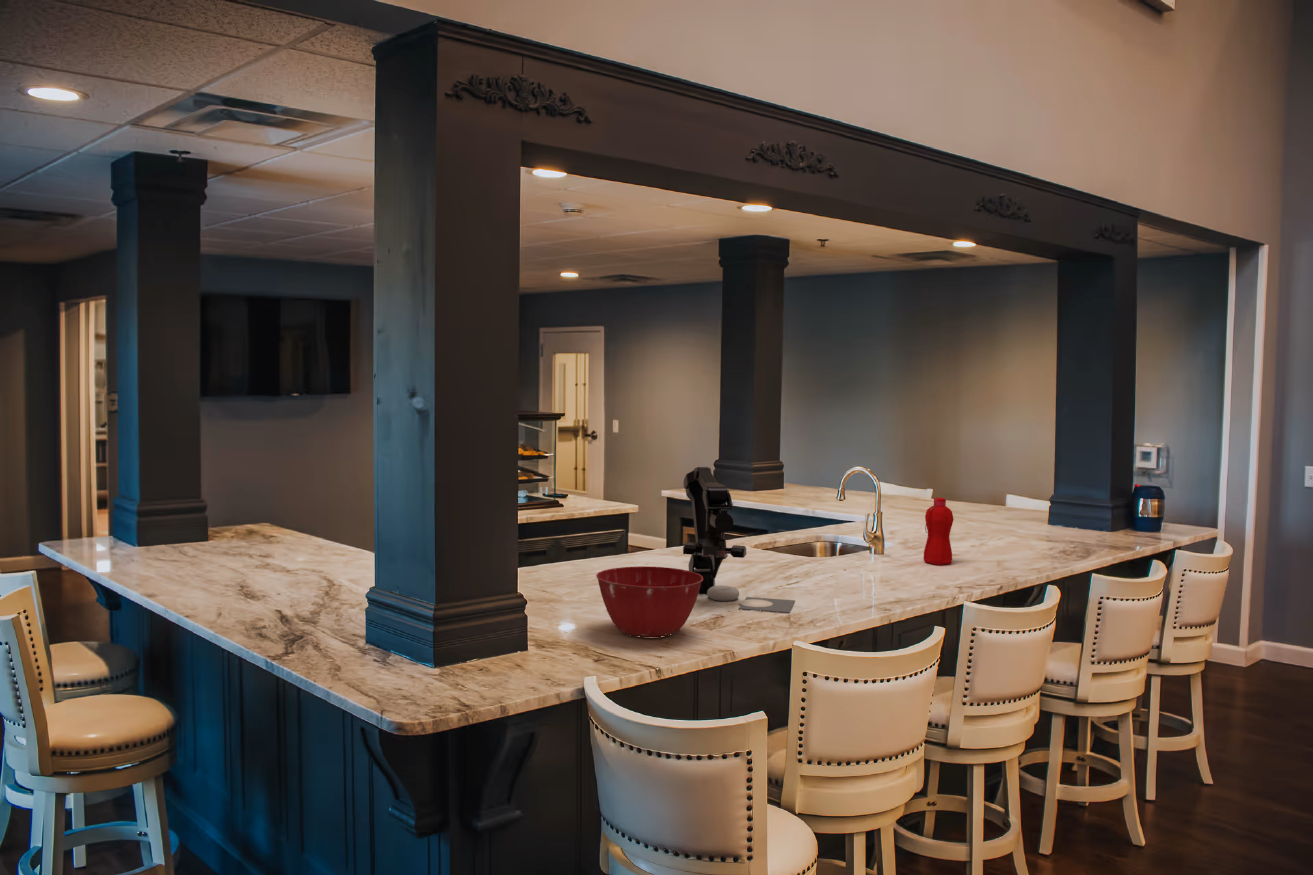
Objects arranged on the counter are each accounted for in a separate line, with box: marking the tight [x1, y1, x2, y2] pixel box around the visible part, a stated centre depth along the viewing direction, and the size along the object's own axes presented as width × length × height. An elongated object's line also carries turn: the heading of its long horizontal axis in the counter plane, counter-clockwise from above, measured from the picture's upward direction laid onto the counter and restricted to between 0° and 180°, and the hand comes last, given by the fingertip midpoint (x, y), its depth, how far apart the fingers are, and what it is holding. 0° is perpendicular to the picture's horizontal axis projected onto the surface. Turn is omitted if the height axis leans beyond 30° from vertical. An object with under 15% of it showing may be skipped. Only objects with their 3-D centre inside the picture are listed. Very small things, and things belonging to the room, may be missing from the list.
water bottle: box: [922, 497, 954, 566], centre depth 366 cm, size 9×11×25 cm
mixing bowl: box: [595, 565, 703, 637], centre depth 258 cm, size 28×28×15 cm
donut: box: [706, 585, 740, 602], centre depth 300 cm, size 10×4×10 cm
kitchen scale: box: [738, 596, 796, 614], centre depth 292 cm, size 16×16×1 cm
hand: (714, 577), depth 295 cm, fingers closed
